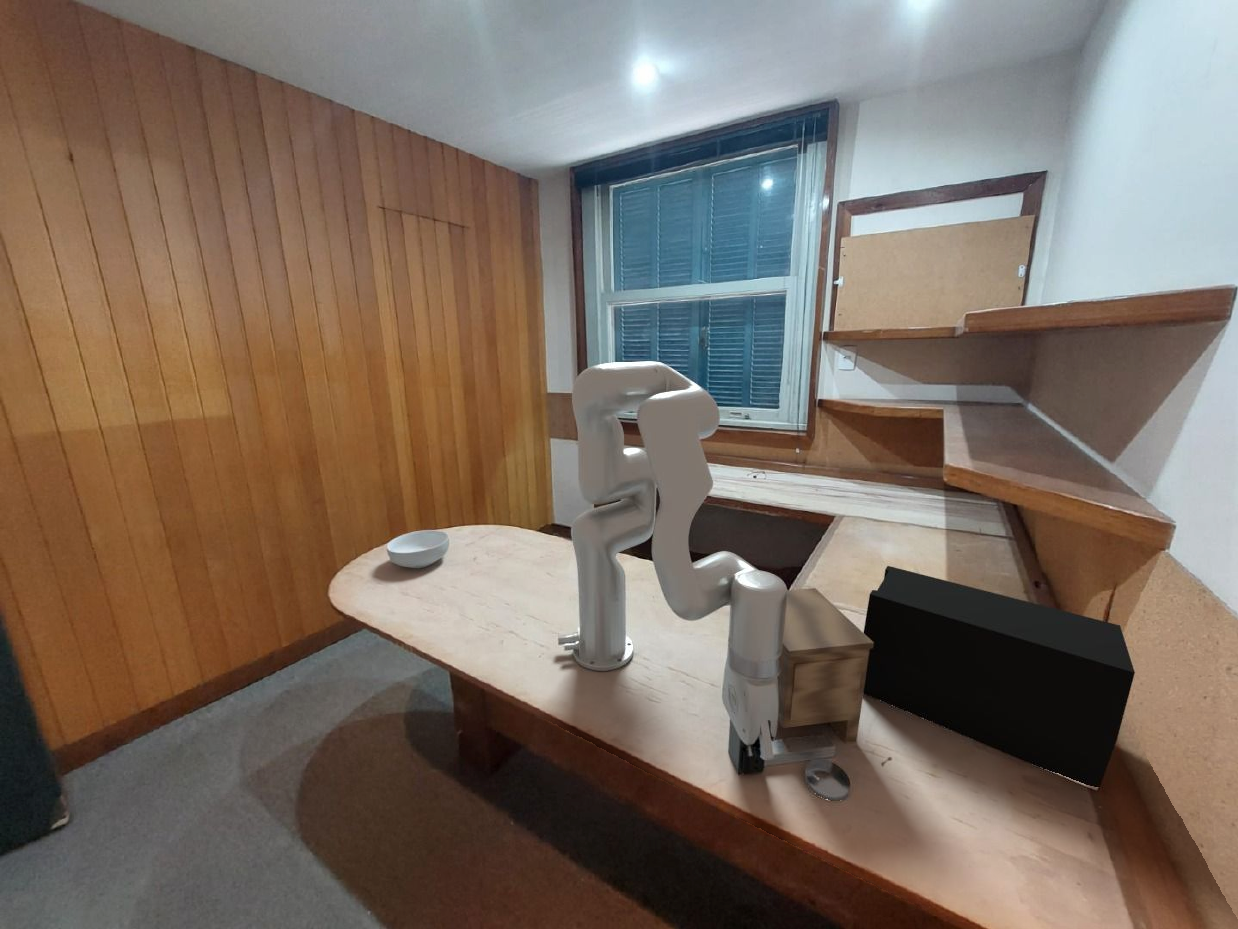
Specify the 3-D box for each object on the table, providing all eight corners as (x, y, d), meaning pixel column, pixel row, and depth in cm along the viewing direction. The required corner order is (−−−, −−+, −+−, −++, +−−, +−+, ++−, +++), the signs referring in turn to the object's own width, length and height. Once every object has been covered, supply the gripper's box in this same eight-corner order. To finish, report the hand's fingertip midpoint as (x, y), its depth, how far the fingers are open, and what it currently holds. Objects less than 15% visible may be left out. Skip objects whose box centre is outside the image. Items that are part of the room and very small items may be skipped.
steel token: (847, 810, 66) (848, 802, 66) (801, 792, 69) (802, 783, 68) (850, 777, 71) (851, 769, 71) (807, 760, 74) (808, 752, 73)
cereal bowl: (439, 545, 152) (437, 525, 151) (459, 563, 140) (457, 541, 138) (382, 561, 142) (379, 539, 140) (398, 582, 130) (395, 558, 128)
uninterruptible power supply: (876, 651, 99) (889, 563, 94) (1102, 733, 78) (1134, 625, 73) (854, 694, 87) (868, 596, 82) (1115, 805, 66) (1154, 683, 61)
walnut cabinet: (779, 753, 75) (789, 651, 70) (739, 681, 91) (744, 593, 86) (859, 743, 77) (873, 642, 72) (806, 673, 92) (815, 588, 88)
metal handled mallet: (737, 774, 71) (740, 736, 69) (728, 752, 75) (730, 715, 73) (837, 760, 73) (841, 723, 72) (822, 739, 77) (827, 703, 75)
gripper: (710, 624, 76) (705, 720, 81) (753, 701, 60) (744, 814, 65) (754, 620, 77) (747, 715, 82) (808, 694, 61) (796, 806, 66)
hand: (746, 757), depth 73 cm, fingers closed on metal handled mallet, 4 cm apart
